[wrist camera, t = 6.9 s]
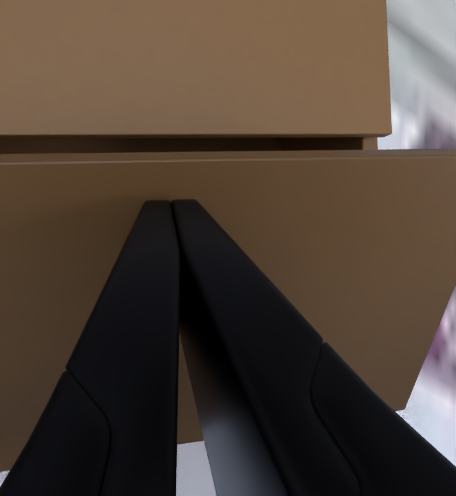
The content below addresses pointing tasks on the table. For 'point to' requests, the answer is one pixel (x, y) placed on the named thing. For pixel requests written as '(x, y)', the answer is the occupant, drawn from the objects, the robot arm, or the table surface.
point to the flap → (249, 240)
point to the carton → (192, 75)
